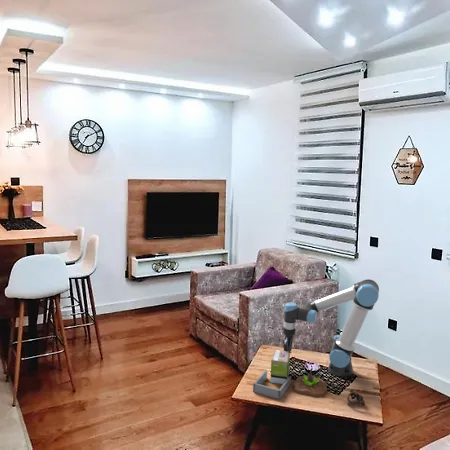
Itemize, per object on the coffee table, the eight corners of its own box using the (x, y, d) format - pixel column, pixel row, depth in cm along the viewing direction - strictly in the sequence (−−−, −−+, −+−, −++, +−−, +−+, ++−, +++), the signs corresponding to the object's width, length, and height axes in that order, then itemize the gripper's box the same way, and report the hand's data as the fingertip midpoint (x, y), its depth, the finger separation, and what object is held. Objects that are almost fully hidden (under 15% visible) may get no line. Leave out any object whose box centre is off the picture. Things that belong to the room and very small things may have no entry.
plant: (329, 384, 275) (331, 366, 273) (324, 400, 257) (326, 381, 255) (296, 377, 282) (297, 360, 280) (289, 392, 264) (290, 374, 262)
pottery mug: (369, 408, 250) (365, 399, 246) (353, 416, 250) (349, 406, 246) (358, 392, 261) (355, 383, 257) (343, 399, 260) (340, 390, 257)
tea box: (272, 371, 287) (274, 348, 285) (289, 373, 285) (290, 351, 282) (269, 382, 272) (271, 359, 270) (286, 385, 270) (288, 361, 268)
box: (290, 384, 271) (291, 376, 271) (279, 399, 255) (280, 391, 254) (265, 377, 278) (265, 370, 278) (252, 391, 262) (253, 383, 261)
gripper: (287, 323, 292) (284, 357, 296) (280, 329, 281) (277, 365, 285) (298, 325, 289) (295, 360, 293) (291, 332, 277) (289, 368, 281)
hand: (286, 363), depth 289 cm, fingers closed
